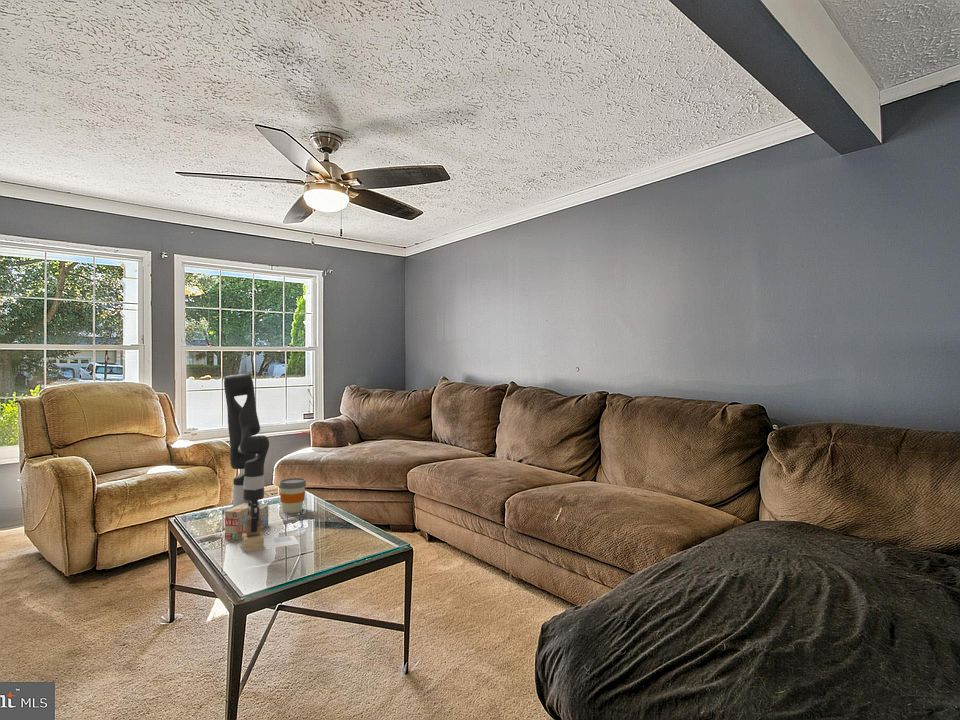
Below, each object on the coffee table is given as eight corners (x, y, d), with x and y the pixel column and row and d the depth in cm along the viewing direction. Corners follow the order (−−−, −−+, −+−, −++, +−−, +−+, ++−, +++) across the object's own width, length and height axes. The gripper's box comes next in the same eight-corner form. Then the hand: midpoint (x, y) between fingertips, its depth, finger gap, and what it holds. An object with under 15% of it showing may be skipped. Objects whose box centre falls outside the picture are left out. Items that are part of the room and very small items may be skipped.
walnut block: (245, 531, 201) (245, 516, 201) (259, 529, 204) (259, 514, 204) (246, 535, 197) (247, 519, 197) (260, 533, 199) (261, 517, 199)
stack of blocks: (256, 524, 231) (256, 497, 231) (268, 525, 230) (269, 498, 230) (224, 540, 210) (224, 510, 210) (237, 541, 209) (238, 511, 209)
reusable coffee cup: (310, 508, 258) (311, 479, 258) (293, 515, 246) (294, 484, 247) (291, 506, 262) (291, 477, 263) (273, 512, 251) (273, 482, 251)
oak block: (242, 546, 201) (242, 533, 201) (261, 543, 205) (261, 531, 205) (244, 552, 195) (244, 539, 195) (263, 549, 199) (263, 536, 199)
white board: (236, 544, 204) (236, 543, 204) (293, 536, 216) (293, 535, 216) (239, 554, 194) (239, 553, 194) (299, 544, 205) (299, 543, 205)
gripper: (241, 484, 205) (240, 526, 204) (245, 491, 192) (244, 536, 192) (261, 482, 209) (260, 523, 208) (266, 489, 196) (266, 533, 196)
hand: (253, 529), depth 200 cm, fingers closed on walnut block, 4 cm apart
